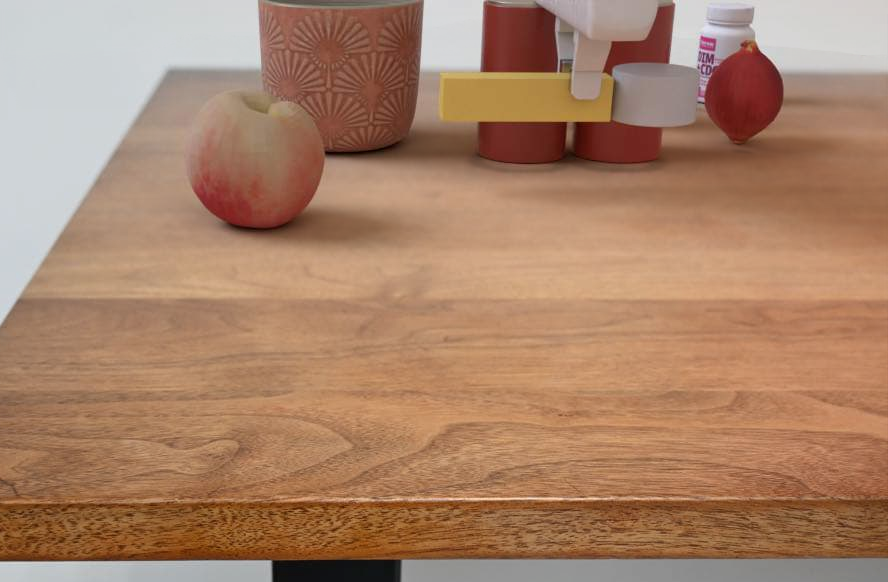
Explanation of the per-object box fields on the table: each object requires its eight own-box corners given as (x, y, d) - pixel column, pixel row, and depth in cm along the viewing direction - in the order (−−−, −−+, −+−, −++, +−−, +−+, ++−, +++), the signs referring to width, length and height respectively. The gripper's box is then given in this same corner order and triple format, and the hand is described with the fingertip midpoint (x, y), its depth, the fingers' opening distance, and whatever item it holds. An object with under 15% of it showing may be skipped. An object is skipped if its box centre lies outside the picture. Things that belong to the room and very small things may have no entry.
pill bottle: (684, 102, 113) (694, 5, 110) (703, 94, 117) (713, 0, 114) (736, 108, 111) (748, 9, 107) (754, 99, 114) (766, 4, 111)
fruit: (257, 250, 72) (254, 110, 69) (164, 223, 77) (156, 92, 74) (348, 220, 77) (349, 90, 74) (255, 198, 82) (253, 74, 79)
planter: (244, 130, 101) (240, -10, 97) (388, 121, 105) (390, -15, 101) (285, 165, 90) (282, 9, 86) (444, 154, 94) (449, 3, 90)
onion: (708, 132, 102) (719, 31, 98) (781, 139, 99) (796, 35, 96) (692, 146, 97) (704, 40, 94) (770, 154, 94) (784, 46, 91)
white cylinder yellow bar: (681, 110, 85) (686, 62, 84) (706, 127, 80) (712, 77, 79) (435, 109, 85) (437, 61, 84) (444, 127, 80) (446, 76, 78)
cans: (647, 142, 98) (661, -7, 94) (670, 162, 92) (687, 4, 88) (471, 143, 97) (477, -7, 93) (483, 163, 91) (490, 4, 87)
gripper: (516, -139, 86) (504, 65, 91) (579, -132, 67) (560, 125, 72) (607, -138, 86) (590, 65, 92) (695, -131, 67) (668, 125, 73)
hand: (577, 92), depth 82 cm, fingers closed on white cylinder yellow bar, 2 cm apart
